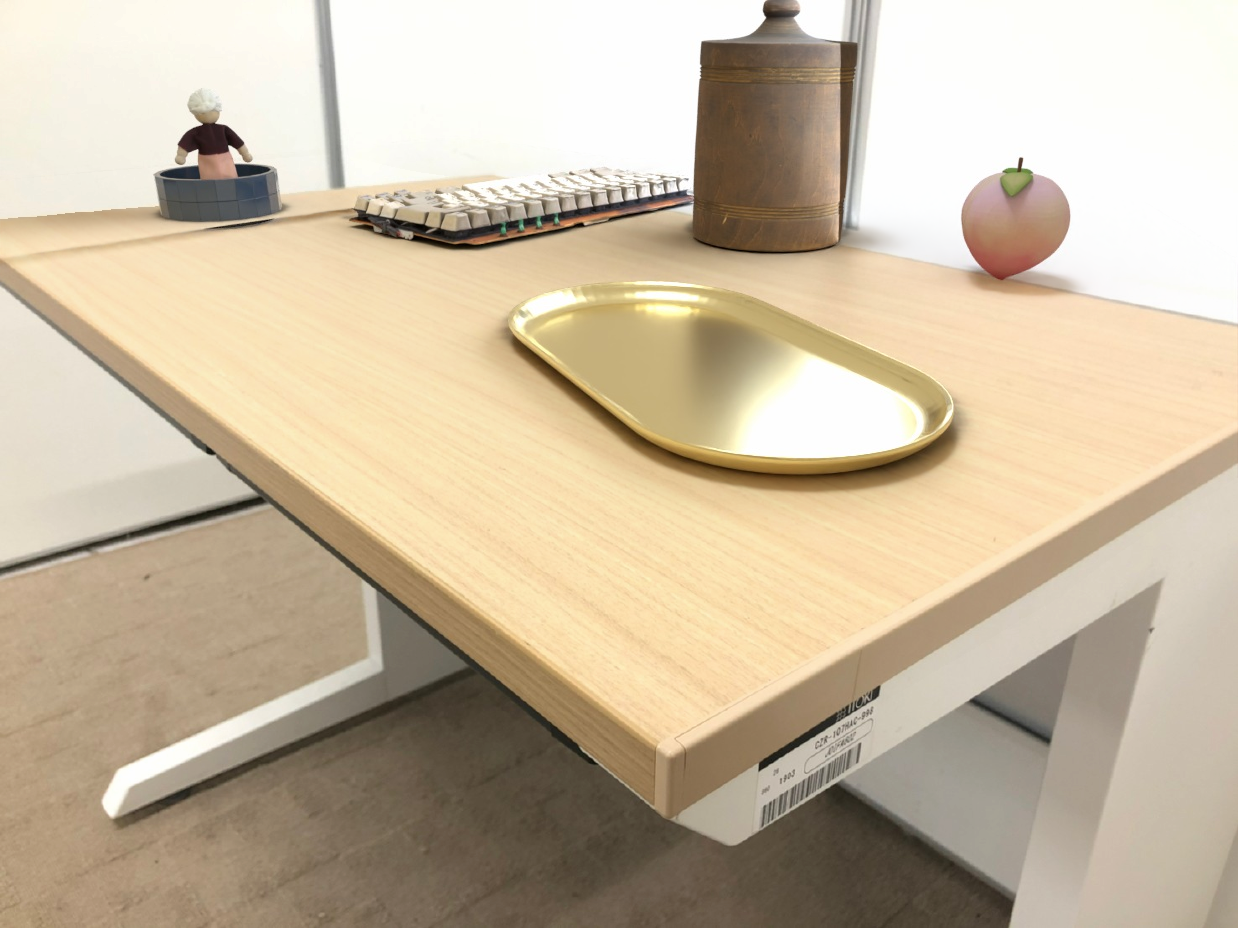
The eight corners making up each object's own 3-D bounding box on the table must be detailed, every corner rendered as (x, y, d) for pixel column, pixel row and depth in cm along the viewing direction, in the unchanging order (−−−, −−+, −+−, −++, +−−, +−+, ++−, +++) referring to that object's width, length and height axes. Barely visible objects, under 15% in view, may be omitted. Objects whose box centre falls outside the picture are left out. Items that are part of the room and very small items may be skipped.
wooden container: (822, 222, 106) (842, -4, 97) (857, 253, 93) (883, -6, 84) (685, 223, 106) (692, -4, 97) (699, 254, 93) (709, -7, 83)
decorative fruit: (1067, 297, 79) (1093, 167, 74) (960, 291, 80) (979, 164, 76) (1046, 270, 87) (1067, 151, 83) (949, 265, 89) (965, 148, 84)
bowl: (143, 218, 107) (134, 171, 105) (249, 204, 115) (243, 160, 113) (193, 235, 100) (184, 184, 98) (303, 218, 108) (297, 171, 106)
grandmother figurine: (247, 206, 111) (229, 85, 106) (263, 210, 109) (245, 87, 103) (179, 215, 106) (156, 89, 101) (194, 220, 104) (172, 91, 98)
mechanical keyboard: (587, 184, 129) (587, 158, 128) (704, 203, 118) (705, 174, 117) (342, 228, 104) (338, 195, 102) (461, 257, 92) (459, 220, 91)
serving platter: (695, 290, 80) (696, 271, 79) (1028, 447, 51) (1033, 419, 51) (473, 318, 73) (472, 297, 72) (716, 519, 44) (718, 487, 43)
